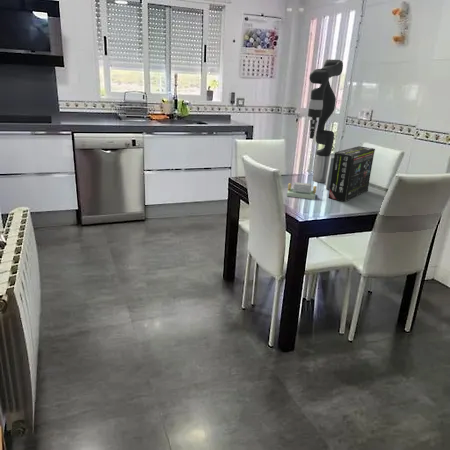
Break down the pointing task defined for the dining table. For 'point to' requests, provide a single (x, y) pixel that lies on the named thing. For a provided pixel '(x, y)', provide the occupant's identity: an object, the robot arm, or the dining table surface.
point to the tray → (308, 196)
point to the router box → (351, 173)
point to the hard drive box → (329, 171)
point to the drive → (301, 188)
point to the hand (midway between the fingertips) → (311, 137)
